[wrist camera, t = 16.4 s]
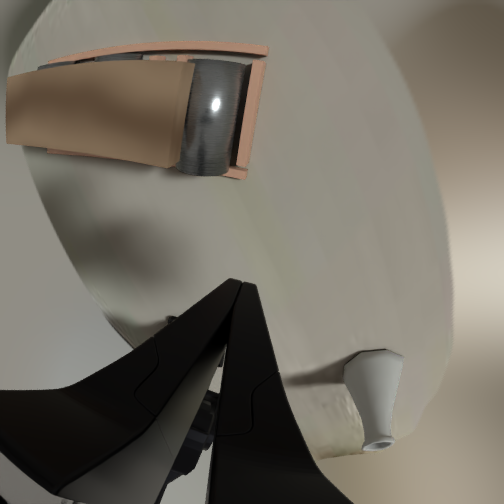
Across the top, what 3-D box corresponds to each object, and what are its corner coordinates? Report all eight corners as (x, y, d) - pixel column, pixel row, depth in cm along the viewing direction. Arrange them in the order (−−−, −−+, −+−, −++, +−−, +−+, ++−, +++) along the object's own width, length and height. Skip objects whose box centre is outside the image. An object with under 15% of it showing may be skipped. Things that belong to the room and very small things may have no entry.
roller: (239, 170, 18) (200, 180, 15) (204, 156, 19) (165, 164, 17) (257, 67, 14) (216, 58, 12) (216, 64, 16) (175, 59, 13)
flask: (356, 343, 26) (360, 433, 18) (414, 350, 25) (428, 431, 17) (333, 379, 30) (330, 455, 22) (385, 384, 29) (390, 455, 21)
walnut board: (179, 160, 16) (167, 168, 14) (19, 138, 16) (6, 143, 15) (195, 63, 12) (183, 61, 11) (21, 74, 13) (7, 77, 12)
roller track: (246, 177, 19) (242, 182, 18) (51, 151, 20) (43, 155, 19) (268, 47, 14) (266, 44, 13) (53, 60, 15) (43, 61, 14)
